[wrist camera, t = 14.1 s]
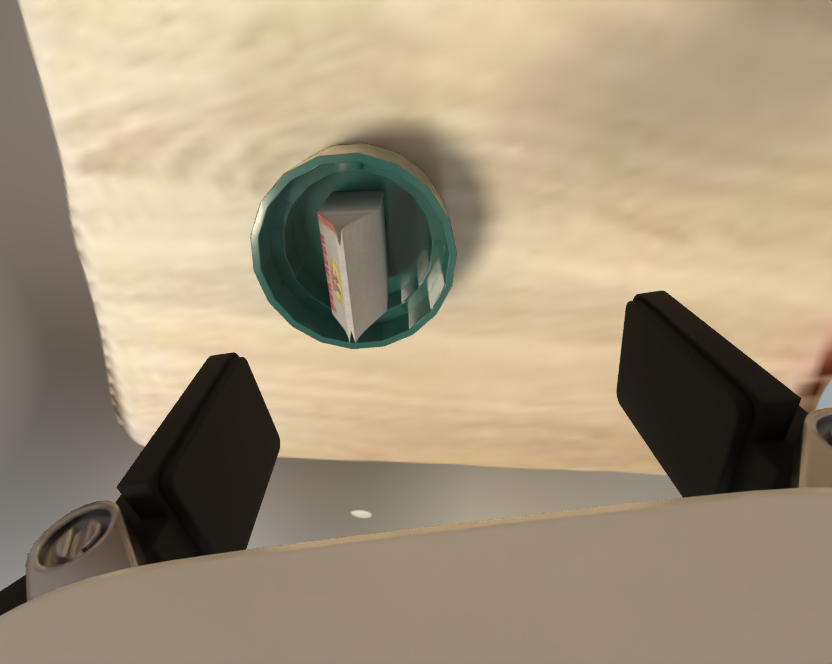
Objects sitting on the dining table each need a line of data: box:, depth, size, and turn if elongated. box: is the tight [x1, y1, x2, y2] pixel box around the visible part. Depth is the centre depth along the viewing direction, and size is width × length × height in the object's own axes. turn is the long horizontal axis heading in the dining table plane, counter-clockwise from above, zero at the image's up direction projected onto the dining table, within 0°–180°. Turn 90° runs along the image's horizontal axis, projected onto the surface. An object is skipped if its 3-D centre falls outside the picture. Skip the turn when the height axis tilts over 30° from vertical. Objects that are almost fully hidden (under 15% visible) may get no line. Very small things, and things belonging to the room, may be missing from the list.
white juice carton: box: [317, 190, 389, 343], centre depth 28 cm, size 4×7×10 cm, turn 2°
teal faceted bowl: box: [251, 143, 457, 349], centre depth 30 cm, size 13×13×6 cm
